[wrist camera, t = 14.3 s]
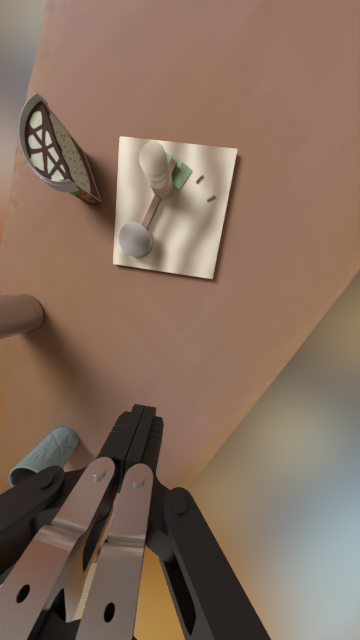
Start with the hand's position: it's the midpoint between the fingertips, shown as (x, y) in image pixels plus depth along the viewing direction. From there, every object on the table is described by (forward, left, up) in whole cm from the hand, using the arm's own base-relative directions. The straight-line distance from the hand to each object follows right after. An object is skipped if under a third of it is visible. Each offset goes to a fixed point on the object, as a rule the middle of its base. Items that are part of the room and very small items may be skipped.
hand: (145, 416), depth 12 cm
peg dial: (-9, +21, -27) cm, 36 cm away
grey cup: (-29, -43, -29) cm, 59 cm away
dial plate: (-6, +22, -29) cm, 37 cm away
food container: (-25, +25, -29) cm, 46 cm away
